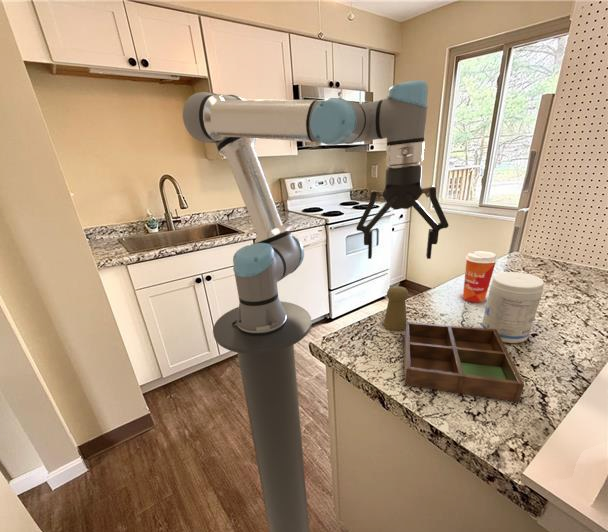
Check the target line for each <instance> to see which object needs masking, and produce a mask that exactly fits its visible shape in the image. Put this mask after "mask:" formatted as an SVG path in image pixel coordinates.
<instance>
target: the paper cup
mask: <svg viewBox="0 0 608 532" xmlns="http://www.w3.org/2000/svg"><path fill="white" fill-rule="evenodd" d="M465 260H466V261H465V262H466V263H465V271H464V272H465V273H464V282H463V292H462V293H463V294H462V298H463V300H464V301H466V302H469V303H476V304H477V303H483V302H484V301H485V300H486V297H487V294H488V291H489V288H490V284H491V281H492V278H493V273H494V269H495V265H496V263H497V262H498V258H497V254H496V253H494V252H492V251H484V250H475V251H470V252H468V253H467V255H466V257H465Z"/></svg>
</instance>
